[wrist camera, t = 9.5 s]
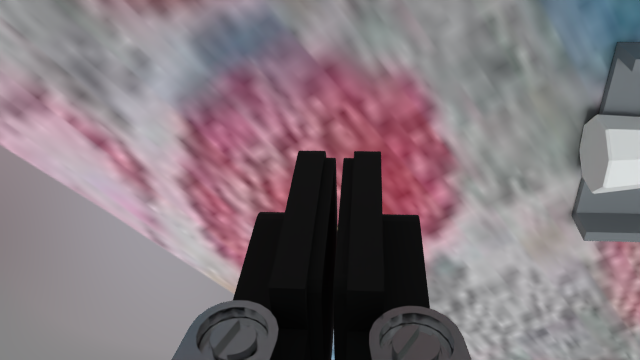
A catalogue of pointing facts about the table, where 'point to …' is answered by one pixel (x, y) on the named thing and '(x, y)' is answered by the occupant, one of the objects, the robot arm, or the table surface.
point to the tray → (618, 206)
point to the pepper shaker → (611, 153)
